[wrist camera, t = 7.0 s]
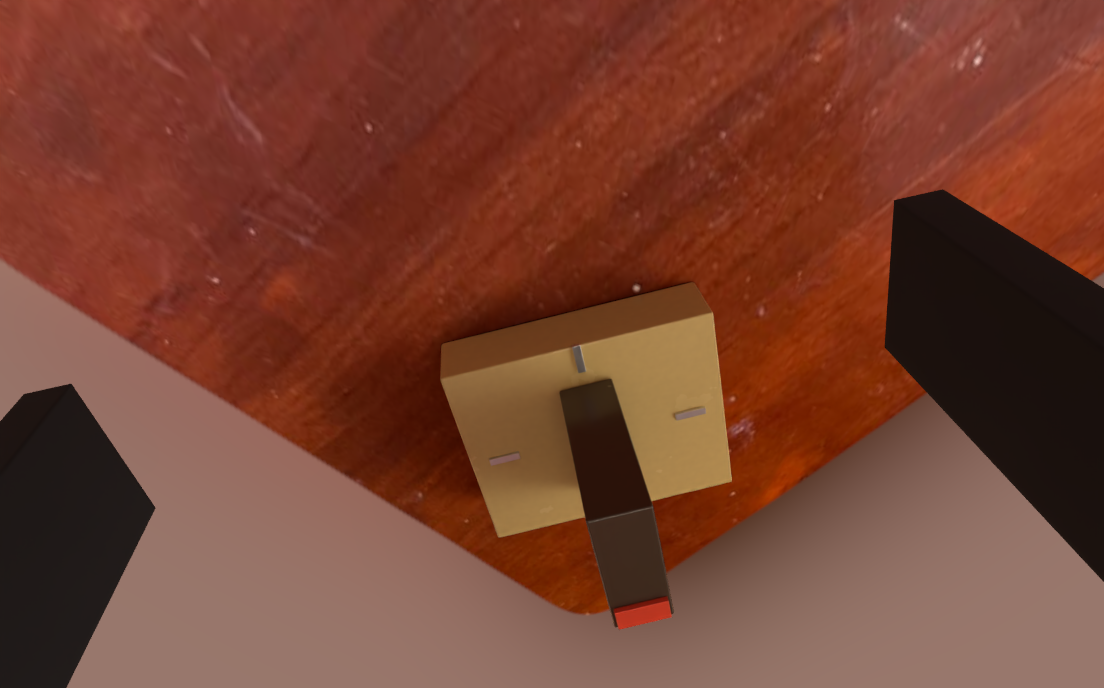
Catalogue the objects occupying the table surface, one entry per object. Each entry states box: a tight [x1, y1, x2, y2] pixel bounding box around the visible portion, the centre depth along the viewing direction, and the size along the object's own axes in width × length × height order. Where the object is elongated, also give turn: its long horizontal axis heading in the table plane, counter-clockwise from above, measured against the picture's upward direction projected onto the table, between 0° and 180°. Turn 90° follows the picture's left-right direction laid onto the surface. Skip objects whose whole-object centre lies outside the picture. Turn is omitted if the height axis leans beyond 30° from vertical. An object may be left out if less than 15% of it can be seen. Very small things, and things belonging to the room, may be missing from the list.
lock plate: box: [440, 282, 732, 538], centre depth 35 cm, size 12×10×3 cm
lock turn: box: [559, 379, 674, 629], centre depth 30 cm, size 6×2×8 cm, turn 12°
